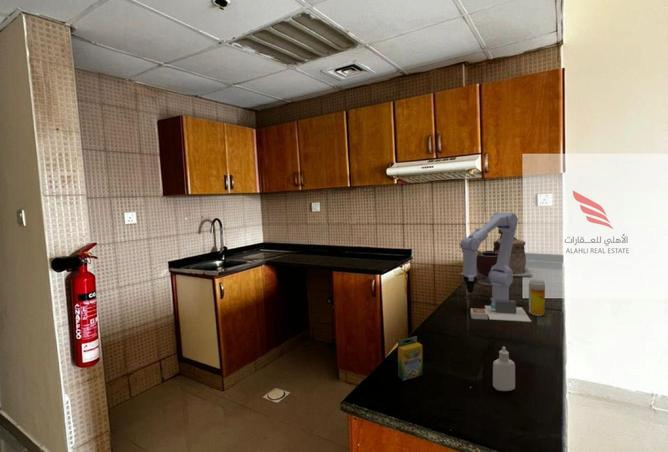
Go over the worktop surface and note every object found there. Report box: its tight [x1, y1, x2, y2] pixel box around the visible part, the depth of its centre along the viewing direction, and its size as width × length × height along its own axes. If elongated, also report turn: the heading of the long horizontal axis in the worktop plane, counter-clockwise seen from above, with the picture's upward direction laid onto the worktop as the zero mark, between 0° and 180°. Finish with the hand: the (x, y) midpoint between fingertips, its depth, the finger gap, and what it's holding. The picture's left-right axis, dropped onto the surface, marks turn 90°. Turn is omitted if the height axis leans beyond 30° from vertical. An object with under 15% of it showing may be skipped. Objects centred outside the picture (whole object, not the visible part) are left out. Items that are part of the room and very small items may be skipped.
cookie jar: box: [492, 228, 533, 278], centre depth 229 cm, size 25×25×32 cm
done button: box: [474, 308, 484, 313], centre depth 155 cm, size 4×4×2 cm
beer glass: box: [528, 278, 546, 317], centre depth 155 cm, size 6×6×15 cm
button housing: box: [470, 307, 489, 320], centre depth 155 cm, size 6×6×2 cm
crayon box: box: [397, 335, 424, 381], centre depth 108 cm, size 7×3×12 cm, turn 114°
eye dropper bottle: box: [492, 346, 516, 392], centre depth 99 cm, size 4×6×12 cm
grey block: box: [490, 299, 517, 314], centre depth 159 cm, size 4×10×5 cm, turn 73°
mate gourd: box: [476, 249, 501, 286], centre depth 209 cm, size 16×14×20 cm
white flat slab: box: [484, 305, 532, 323], centre depth 158 cm, size 18×16×1 cm
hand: (470, 292), depth 163 cm, fingers closed
